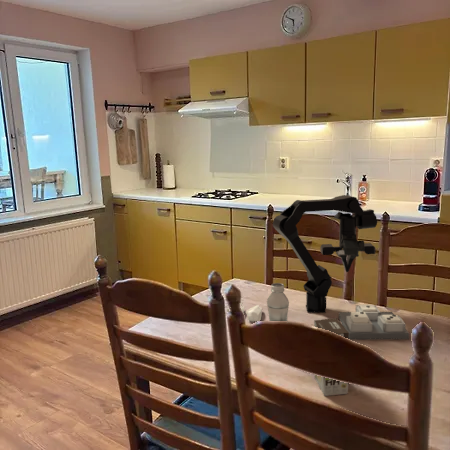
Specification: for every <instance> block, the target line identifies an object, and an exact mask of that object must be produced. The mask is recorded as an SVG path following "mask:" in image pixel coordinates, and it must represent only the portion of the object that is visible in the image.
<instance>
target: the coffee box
mask: <svg viewBox="0 0 450 450" xmlns="http://www.w3.org/2000/svg"><path fill="white" fill-rule="evenodd" d="M338 319H339V318H324V319H316V320H314V321H313V327H314V326H315V327H318V328H322V329H325V330H329V331H331V332H334V333H336V334H338V335H341V336H343V337H345V338H348V339H349V332H348V331H347V330H346V329H345V328H344V326H343V325H342V323H341V321H340V320H338ZM313 377H314V379H315V381H316V384H317V385H318V387H319V389H320V390H321V392H322V394H323V396H325V397H328V396H335V395H336V396H337V395H347V394H348V393H349V382H348V383H344V382H340V381H336V380H333V379H329V378H325V377H321V376H317V375H315V374H314V375H313Z"/></svg>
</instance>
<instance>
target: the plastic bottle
mask: <svg viewBox="0 0 450 450" xmlns="http://www.w3.org/2000/svg"><path fill="white" fill-rule="evenodd" d="M270 287H271V289H270V292H271V293H270V294H269V296H268V297H267V298H266V307H267V312H268V322H269V321H287V322H288V317H289V316H288V313H289V306H290V301H289V299H288V297H287V295H286V294H285V293H284V292H285V285H284V283H280V282H275V283H272V284H271V285H270Z"/></svg>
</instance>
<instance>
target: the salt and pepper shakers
mask: <svg viewBox="0 0 450 450" xmlns="http://www.w3.org/2000/svg"><path fill="white" fill-rule="evenodd" d="M240 304H241V309H242V311H243V313H245V314H246V317H247V320H248V321H249V322H251V323H257V322H256V321H260V320H261V321H262V313H263V307H261V306H260V304H256V305H255V306H252V307H250V308H248V309H246V310H245V305H242V304H243V303H240ZM226 311H227V313H229V308H227V310H226ZM254 321H255V322H254Z"/></svg>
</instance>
